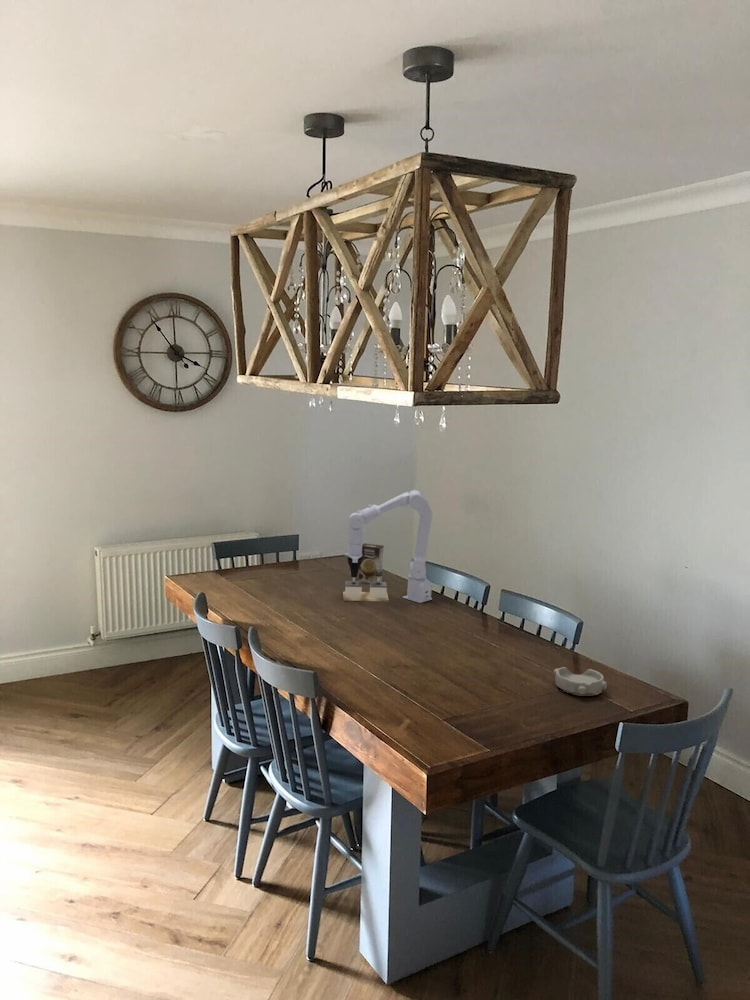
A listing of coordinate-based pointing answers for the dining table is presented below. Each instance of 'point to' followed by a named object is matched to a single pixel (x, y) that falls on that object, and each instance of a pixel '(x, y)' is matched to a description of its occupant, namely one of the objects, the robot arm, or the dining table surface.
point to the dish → (580, 681)
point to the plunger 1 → (353, 578)
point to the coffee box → (370, 562)
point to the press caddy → (356, 589)
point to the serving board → (364, 598)
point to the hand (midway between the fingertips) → (354, 575)
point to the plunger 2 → (378, 573)
